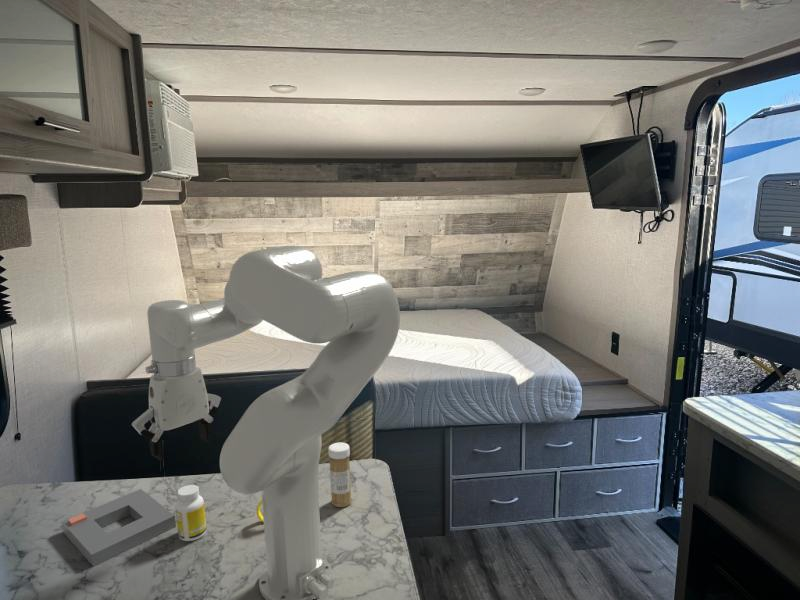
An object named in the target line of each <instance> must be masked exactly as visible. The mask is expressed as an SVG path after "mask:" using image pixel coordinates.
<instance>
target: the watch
mask: <svg viewBox="0 0 800 600" xmlns="http://www.w3.org/2000/svg"><path fill="white" fill-rule="evenodd" d="M261 505H262V499H260V501H259V502H258V504H257V507H256V515H257V518H258V519H259V521H261V522H262V523H264V521H263V513H262V511H261Z"/></svg>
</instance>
